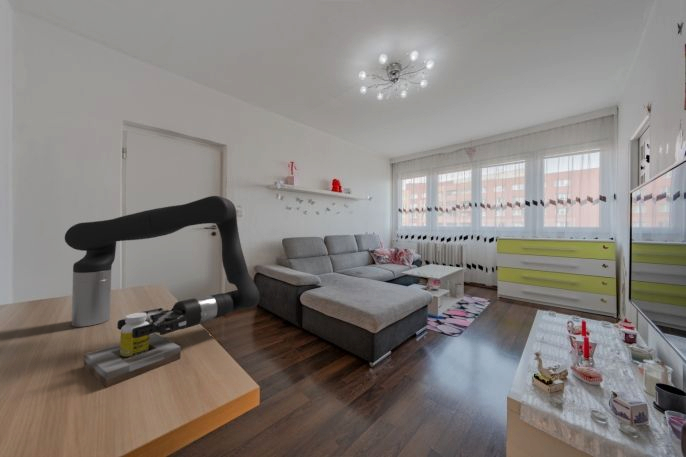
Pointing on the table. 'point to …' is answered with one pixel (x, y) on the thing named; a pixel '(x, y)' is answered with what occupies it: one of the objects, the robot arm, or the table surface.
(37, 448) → the table surface
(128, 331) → the supplement bottle
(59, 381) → the table surface
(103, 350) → the mount block
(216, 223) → the robot arm
